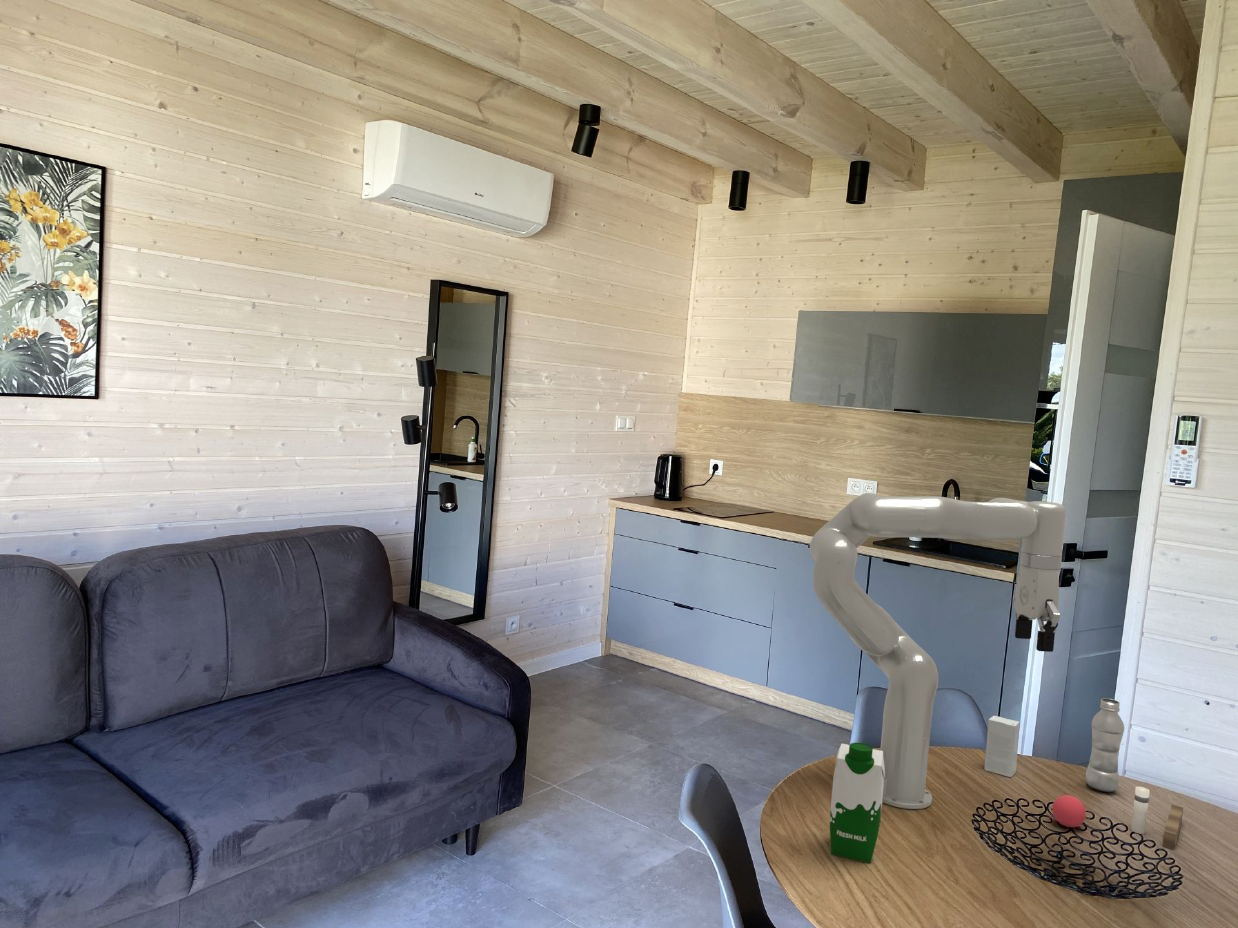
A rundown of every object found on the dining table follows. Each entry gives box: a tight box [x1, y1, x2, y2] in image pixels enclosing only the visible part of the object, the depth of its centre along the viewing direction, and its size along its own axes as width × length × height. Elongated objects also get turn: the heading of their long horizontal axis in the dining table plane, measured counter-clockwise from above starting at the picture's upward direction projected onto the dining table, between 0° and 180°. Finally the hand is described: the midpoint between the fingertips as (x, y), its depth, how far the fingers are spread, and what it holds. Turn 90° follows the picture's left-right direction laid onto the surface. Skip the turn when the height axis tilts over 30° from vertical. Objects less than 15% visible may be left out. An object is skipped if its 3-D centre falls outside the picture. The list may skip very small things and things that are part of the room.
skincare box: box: [983, 715, 1021, 778], centre depth 203 cm, size 6×4×12 cm
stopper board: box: [1162, 804, 1184, 851], centre depth 177 cm, size 16×2×3 cm, turn 143°
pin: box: [1130, 785, 1150, 835], centre depth 177 cm, size 2×2×9 cm
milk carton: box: [829, 742, 885, 864], centre depth 161 cm, size 9×9×20 cm
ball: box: [1051, 794, 1087, 828], centre depth 177 cm, size 6×6×6 cm
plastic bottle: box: [1085, 697, 1125, 793], centre depth 196 cm, size 6×7×20 cm
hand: (1033, 644), depth 182 cm, fingers open, 9 cm apart
